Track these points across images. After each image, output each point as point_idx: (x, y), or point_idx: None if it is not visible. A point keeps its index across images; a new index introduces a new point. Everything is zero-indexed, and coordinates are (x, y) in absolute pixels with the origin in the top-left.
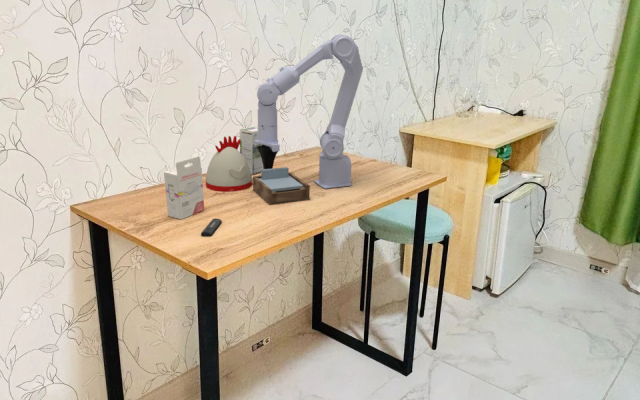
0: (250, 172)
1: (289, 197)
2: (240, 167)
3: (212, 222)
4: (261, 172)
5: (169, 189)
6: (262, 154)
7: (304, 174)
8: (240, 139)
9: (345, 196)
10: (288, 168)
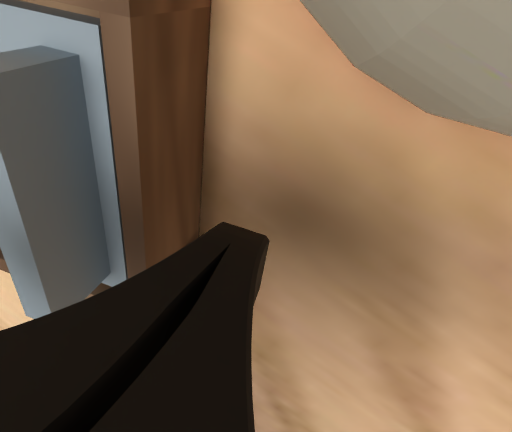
0: (402, 95)
1: None
2: None
3: None
4: (9, 68)
5: None
6: (43, 353)
7: (346, 427)
8: None
9: (11, 304)
10: (29, 312)
